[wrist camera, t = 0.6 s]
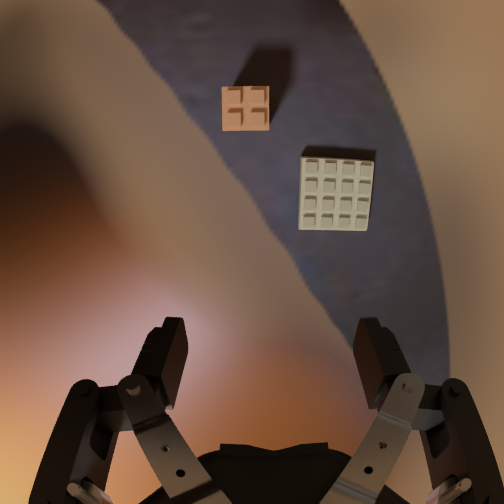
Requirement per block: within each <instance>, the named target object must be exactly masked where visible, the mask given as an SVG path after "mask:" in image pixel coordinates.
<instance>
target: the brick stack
mask: <svg viewBox="0 0 504 504" xmlns="http://www.w3.org/2000/svg"><path fill="white" fill-rule="evenodd" d="M222 123H223V131H242V130H269V86H234V87H222Z"/></svg>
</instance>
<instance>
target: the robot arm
mask: <svg viewBox="0 0 504 504" xmlns="http://www.w3.org/2000/svg"><path fill="white" fill-rule="evenodd" d="M400 349H401V348H400V346H399V344H398V342H397V340H396V338H395V336H394V334H393V333H392V332H391V331H390V330H389V329H388V328H387V327H382V328H381V326H380V323H379V321H378V319H377V318H376V317H367V318H360V319H359V322H358V326H357V331H356V334H355V338H354V342H353V354H354V358H355V361H356V364H357V368H358V371H359V375H360V378H361V382H362V385H363V389H364V393H365V396H366V400H367V404H368V408H369V409H376V408H377V410H378V414H377V416H376V418H375V420H374V422H373V423H372V425H371V427H370V429H369V431H368V432H367V434H366V435H365V437H364V439H363V441H362V442H361V444H360V445H359V447H358V449H357V450H356V452H355V453H354V455H353V457H350V456H349V455H347V454H345V453H343V452H340V451H337V450H332V449H328V443H327V442H325V443H312V444H300V445H297V446H293V447H289V448H285V449H281V450H276V451H272V450H267V449H263V448H258V447H254V446H250V445H238V444H220V450H217V451H213V452H209V453H206V454H203V455H201V456H199V457H197V458H196V456H195V455H194V453H193V452H192V451H191V449H190V448H189V446H188V444H187V443H186V441H185V440H184V438H183V437H182V435H181V434H180V432H179V431H178V429H177V427H176V426H175V424H174V422H173V421H172V419H171V418H170V417H169V415H167V414H166V412H165V409H169V410H173V408H174V405H175V401H176V397H177V392H178V389H179V385H180V381H181V377H182V374H183V370H184V366H185V362H186V358H187V355H188V340H187V335H186V331H185V325H184V320H183V318H180V317H179V318H178V317H166V318H165V320H164V323H163V325H162V327H155V328H154V329H153V330H152V331H151V332H150V333H149V334H148V335H147V338H146V340H145V342H144V344H143V347H142V350H141V351H140V354H139V356H138V359H137V361H136V363H135V366H134V368H133V371H132V373H131V375H128V376H126V377H124V378H123V379H121V380H120V382H119V383H118V385H115V386H106V387H98V385H97V383H96V382H94V381H92V380H89V379H84V380H80V381H78V382H76V383H75V384H74V385H73V386H72V387H71V389H70V392H69V394H68V396H67V398H66V400H65V402H64V405H63V407H62V410H61V412H60V414H59V417H58V419H57V421H56V424H55V426H54V429H53V432H52V434H51V436H50V439H49V442H48V444H47V447H46V450H45V452H44V455H43V458H42V461H41V463H40V466H39V469H38V472H37V475H36V479H35V481H34V485H33V488H32V491H31V494H30V498H29V503H28V504H113V503H112V500H111V499H110V497H109V496H108V495H107V494H105V493H104V491H105V486H106V482H107V478H108V473H109V469H110V465H111V461H112V457H113V453H114V449H115V445H116V441H117V437H118V434H119V432H120V431H130V430H133V431H134V434H135V436H136V438H137V440H138V442H139V444H140V446H141V448H142V450H143V452H144V453H145V455H146V457H147V459H148V461H149V463H150V465H151V467H152V468H153V470H154V472H155V474H156V476H157V477H158V479H159V481H160V482H161V484H162V486H161V487H160V488H159V489H157V490H156V491H155V492H154V493H152V494H151V495H149V496H148V497H147V498H146V499H144V500H143V501H142V502H140V503H139V504H410V503H408V502H407V501H406V500H404V499H403V498H402V497H400V496H399V495H398V494H397V493H395V492H394V491H393V490H391V489H390V488H389V487H388V486H386V485H385V482H386V481H387V479H388V477H389V475H390V473H391V471H392V469H393V467H394V465H395V463H396V461H397V459H398V457H399V455H400V453H401V451H402V449H403V447H404V445H405V443H406V441H407V438H408V436H409V434H410V431H411V429H414V430H419V431H420V436H421V439H422V443H423V447H424V452H425V455H426V460H427V464H428V469H429V473H430V478H431V483H432V488H433V491H431V492H430V493H429V495H428V497H427V499H426V504H504V487H503V483H502V479H501V476H500V472H499V469H498V466H497V462H496V459H495V456H494V453H493V450H492V447H491V444H490V442H489V439H488V436H487V433H486V430H485V428H484V425H483V423H482V420H481V418H480V415H479V413H478V410H477V408H476V405H475V403H474V401H473V398H472V396H471V394H470V391H469V389H468V387H467V385H466V384H465V383H464V382H462V381H461V380H459V379H456V378H450V379H447V380H446V381H445V382H444V383H443V385H442V386H436V385H427V384H424V382H423V380H422V379H421V378H420V377H418V376H417V375H415V374H412V373H411V371H410V369H409V366H408V364H407V362H406V360H405V357H404V355H403V353H402V351H401V350H400Z"/></svg>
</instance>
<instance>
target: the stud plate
mask: <svg viewBox="0 0 504 504" xmlns="http://www.w3.org/2000/svg"><path fill="white" fill-rule="evenodd" d="M373 169H374V162H373V161H371V160H359V159H346V158H329V157H308V156H300V188H299V213H298V228H299V230H355V231H367V225H368V218H369V209H370V200H371V191H372V180H373Z"/></svg>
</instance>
